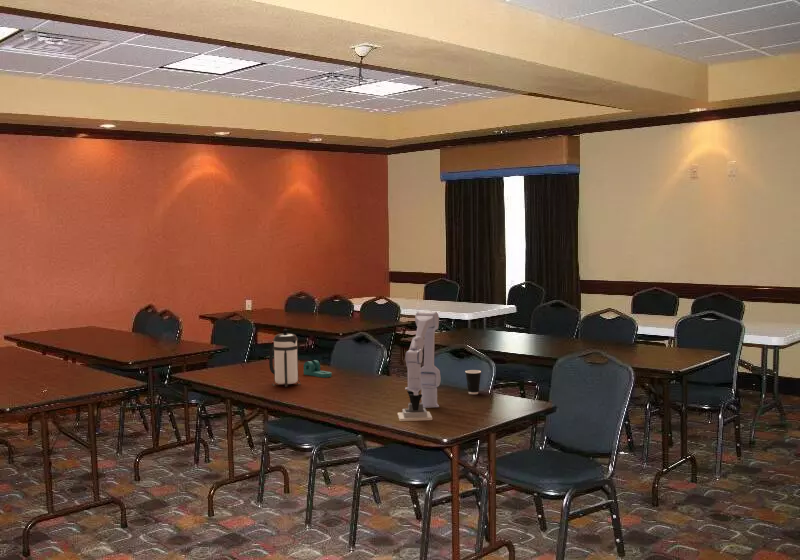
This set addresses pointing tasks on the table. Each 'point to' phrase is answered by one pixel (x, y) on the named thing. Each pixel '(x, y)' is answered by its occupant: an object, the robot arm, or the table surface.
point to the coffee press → (284, 358)
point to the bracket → (315, 369)
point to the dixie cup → (473, 381)
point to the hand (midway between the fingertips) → (414, 408)
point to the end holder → (414, 415)
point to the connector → (415, 410)
